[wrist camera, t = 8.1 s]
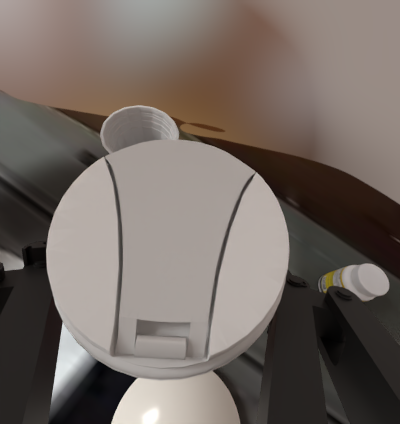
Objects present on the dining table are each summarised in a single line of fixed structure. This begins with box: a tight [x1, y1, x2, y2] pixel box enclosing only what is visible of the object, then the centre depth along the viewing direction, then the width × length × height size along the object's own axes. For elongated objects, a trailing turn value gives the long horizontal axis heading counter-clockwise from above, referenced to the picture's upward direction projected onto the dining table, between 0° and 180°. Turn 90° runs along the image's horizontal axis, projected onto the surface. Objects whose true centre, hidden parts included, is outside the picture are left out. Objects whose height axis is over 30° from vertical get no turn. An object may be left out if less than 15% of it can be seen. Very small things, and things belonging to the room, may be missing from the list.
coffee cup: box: [46, 139, 289, 381], centre depth 13 cm, size 8×8×15 cm
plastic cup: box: [100, 105, 179, 154], centre depth 36 cm, size 11×11×12 cm
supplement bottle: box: [318, 264, 389, 302], centre depth 31 cm, size 5×5×8 cm
